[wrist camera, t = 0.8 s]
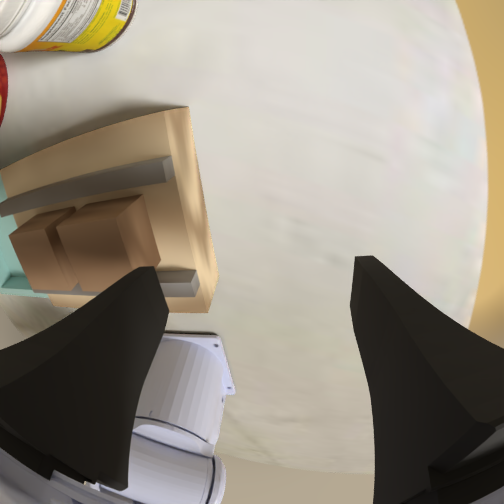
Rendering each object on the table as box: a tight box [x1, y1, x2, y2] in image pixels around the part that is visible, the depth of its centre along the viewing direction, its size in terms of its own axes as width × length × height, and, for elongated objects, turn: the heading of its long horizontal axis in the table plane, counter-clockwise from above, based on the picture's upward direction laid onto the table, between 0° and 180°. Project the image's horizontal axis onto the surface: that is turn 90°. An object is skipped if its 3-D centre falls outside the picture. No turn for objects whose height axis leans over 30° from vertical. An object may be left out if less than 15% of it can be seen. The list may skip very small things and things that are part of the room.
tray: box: [0, 174, 49, 298], centre depth 19 cm, size 12×11×3 cm
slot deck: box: [0, 107, 219, 313], centre depth 17 cm, size 12×14×5 cm
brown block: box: [56, 194, 161, 292], centre depth 14 cm, size 4×4×3 cm
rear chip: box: [8, 206, 78, 291], centre depth 15 cm, size 4×4×3 cm
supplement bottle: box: [0, 0, 138, 53], centre depth 7 cm, size 6×6×10 cm
